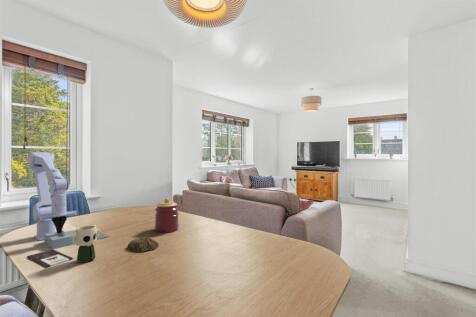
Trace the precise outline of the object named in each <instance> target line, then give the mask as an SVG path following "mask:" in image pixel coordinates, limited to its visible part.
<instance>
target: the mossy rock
mask: <svg viewBox="0 0 476 317" xmlns="http://www.w3.org/2000/svg"><path fill="white" fill-rule="evenodd" d="M158 246H159V243H158V242H157V241H156V240H154V239H152V238H151V237H148V236H147V237H146V236H141V237H137V238H134V239H132V240H131V241H129V243H128V244H127V249H128V250H129V251H131V252H136V253H144V252H147V251H155V250H156V249H157V248H158Z"/></svg>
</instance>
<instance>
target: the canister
mask: <svg viewBox="0 0 476 317" xmlns="http://www.w3.org/2000/svg"><path fill="white" fill-rule="evenodd" d="M179 209H180V208H179V207H178V203H176V202H175V201H173V200H170V198H168V197H166V198H165V199H164V201H160V202H158V203H157V204H156V207H155V208H154V211H155V214H154V217H155V218H154V222H155V223H154V231H156V232H157V233H172V232H175V231H178V230H179V226H180V225H179Z"/></svg>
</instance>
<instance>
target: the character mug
mask: <svg viewBox="0 0 476 317" xmlns="http://www.w3.org/2000/svg"><path fill="white" fill-rule="evenodd" d="M99 232H100V228H97V225H91V224H90V225H82V226H78V227H76V235H73V236H72V244H73V245H76V246H78V249H77V257H76V261H78V262H79V263H84V262H91V259H92V260H95V259H96V252H95V245H94V244H95V243H96V242H97V237H98V236H99ZM75 237H76V241H75ZM75 243H76V244H75Z"/></svg>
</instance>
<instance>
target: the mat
mask: <svg viewBox="0 0 476 317" xmlns="http://www.w3.org/2000/svg"><path fill="white" fill-rule="evenodd" d="M109 237H110V236H109V235H107V234H105V233H103V232H101V231H99V236H98V237H97V240H101V239H105V238H109ZM97 240H96V241H97Z"/></svg>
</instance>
